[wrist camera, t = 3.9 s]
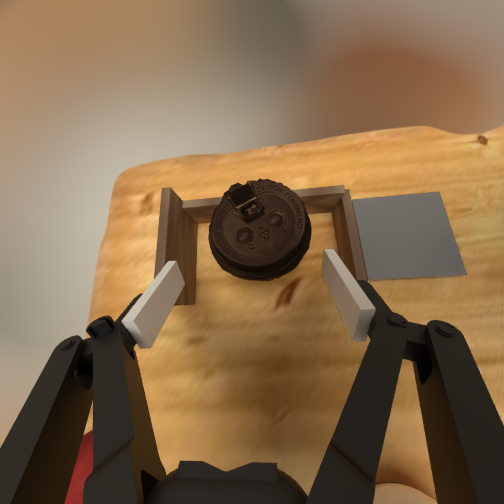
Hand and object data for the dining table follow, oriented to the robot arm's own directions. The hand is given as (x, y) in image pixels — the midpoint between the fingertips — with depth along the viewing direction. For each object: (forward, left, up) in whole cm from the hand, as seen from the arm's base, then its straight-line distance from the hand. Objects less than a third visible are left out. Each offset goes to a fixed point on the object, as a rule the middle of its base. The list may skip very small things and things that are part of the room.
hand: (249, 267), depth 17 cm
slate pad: (-19, -4, -9) cm, 22 cm away
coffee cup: (-1, -3, -9) cm, 10 cm away
